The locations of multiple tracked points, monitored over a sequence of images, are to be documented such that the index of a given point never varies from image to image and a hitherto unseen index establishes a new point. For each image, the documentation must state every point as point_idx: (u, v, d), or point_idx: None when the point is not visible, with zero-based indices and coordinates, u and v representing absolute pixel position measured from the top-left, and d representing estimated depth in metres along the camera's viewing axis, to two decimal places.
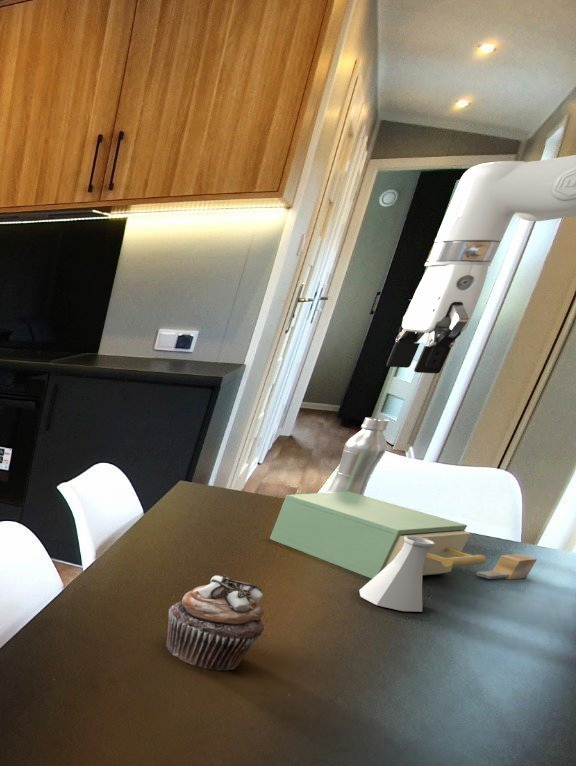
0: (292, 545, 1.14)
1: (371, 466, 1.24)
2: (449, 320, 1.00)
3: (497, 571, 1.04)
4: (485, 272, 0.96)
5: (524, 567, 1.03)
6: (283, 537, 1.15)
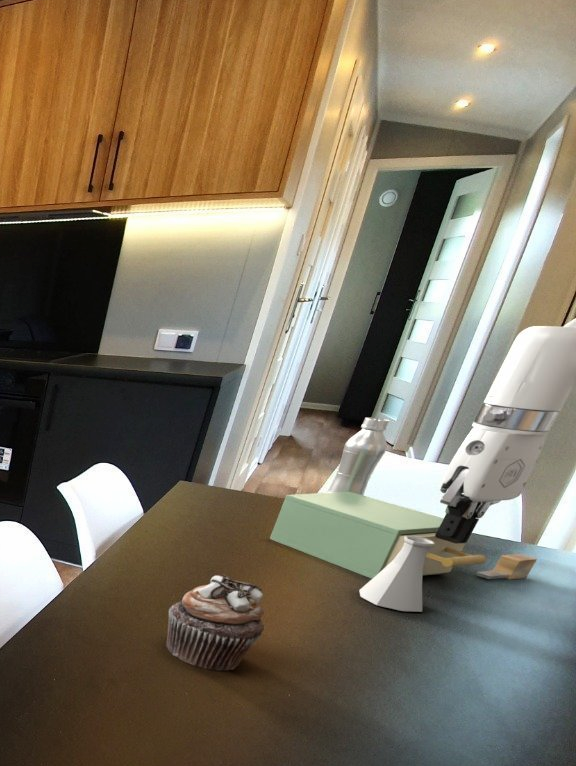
0: (292, 545, 1.14)
1: (371, 466, 1.24)
2: None
3: (497, 571, 1.04)
4: (500, 441, 0.88)
5: (524, 567, 1.03)
6: (283, 537, 1.15)
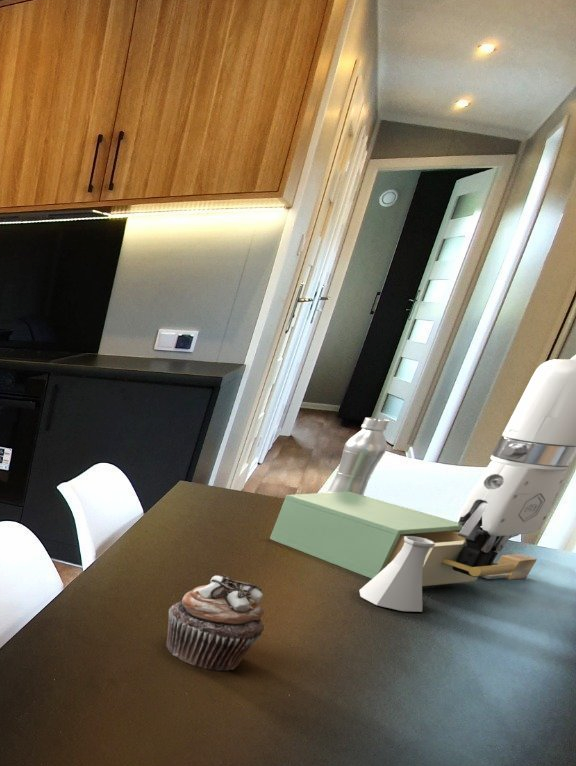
0: (292, 545, 1.14)
1: (371, 466, 1.24)
2: None
3: None
4: (519, 475, 0.86)
5: (524, 567, 1.03)
6: (283, 537, 1.15)
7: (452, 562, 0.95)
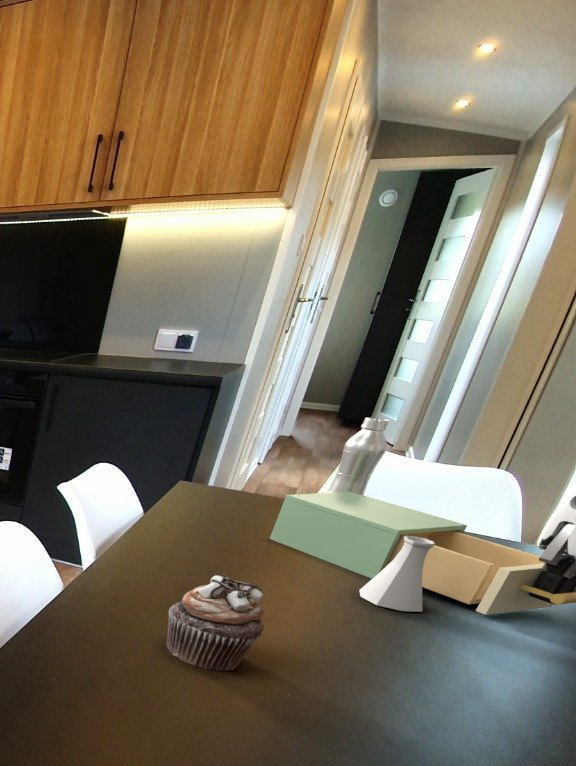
0: (292, 545, 1.14)
1: (371, 466, 1.24)
2: None
3: None
4: None
5: None
6: (283, 537, 1.15)
7: (530, 588, 0.87)
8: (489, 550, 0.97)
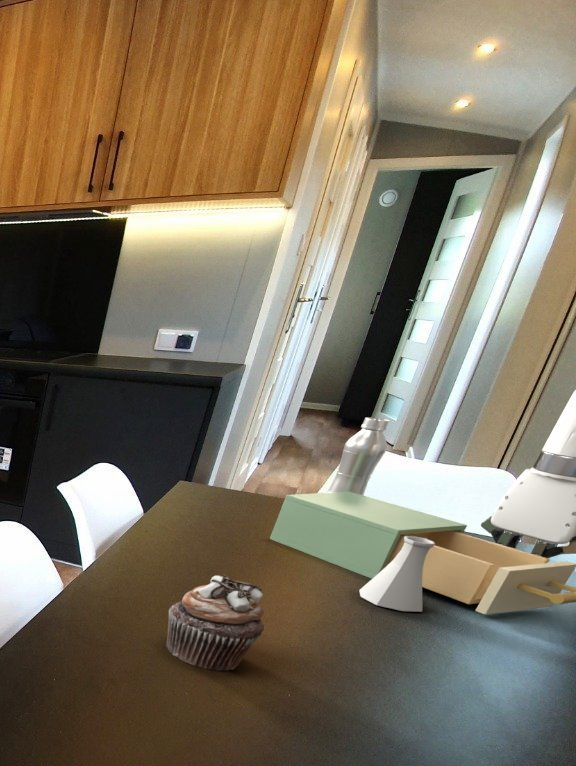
0: (292, 545, 1.14)
1: (371, 466, 1.24)
2: None
3: None
4: None
5: None
6: (283, 537, 1.15)
7: (529, 588, 0.87)
8: (488, 550, 0.97)
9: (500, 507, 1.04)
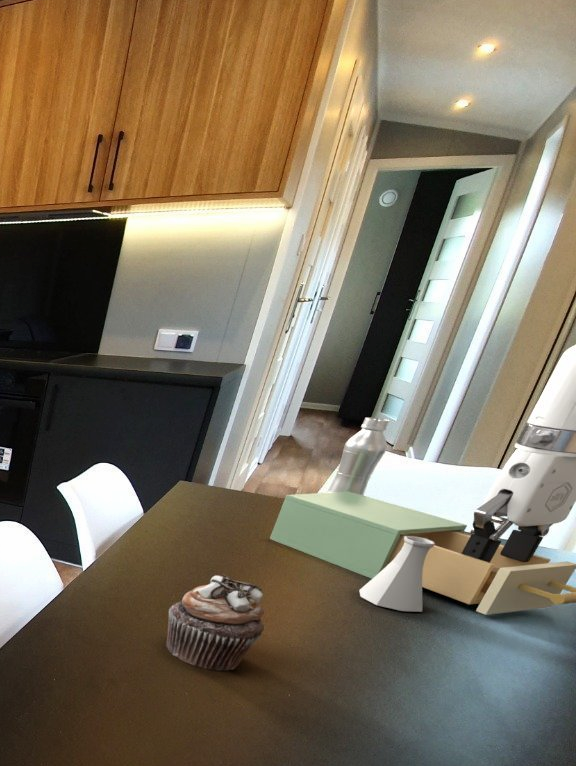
0: (292, 545, 1.14)
1: (371, 466, 1.24)
2: None
3: None
4: (546, 464, 0.84)
5: None
6: (283, 537, 1.15)
7: (530, 588, 0.87)
8: None
9: None
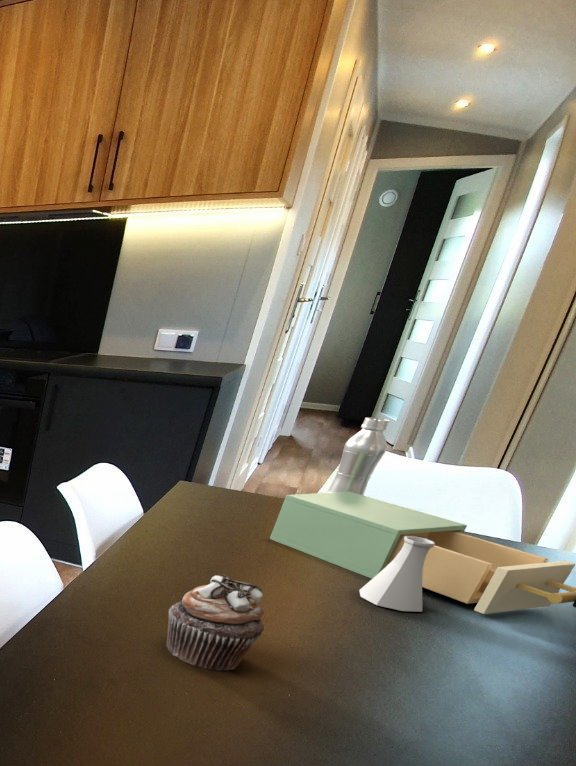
0: (292, 545, 1.14)
1: (371, 466, 1.24)
2: None
3: None
4: None
5: None
6: (283, 537, 1.15)
7: (528, 587, 0.87)
8: (487, 550, 0.98)
9: None
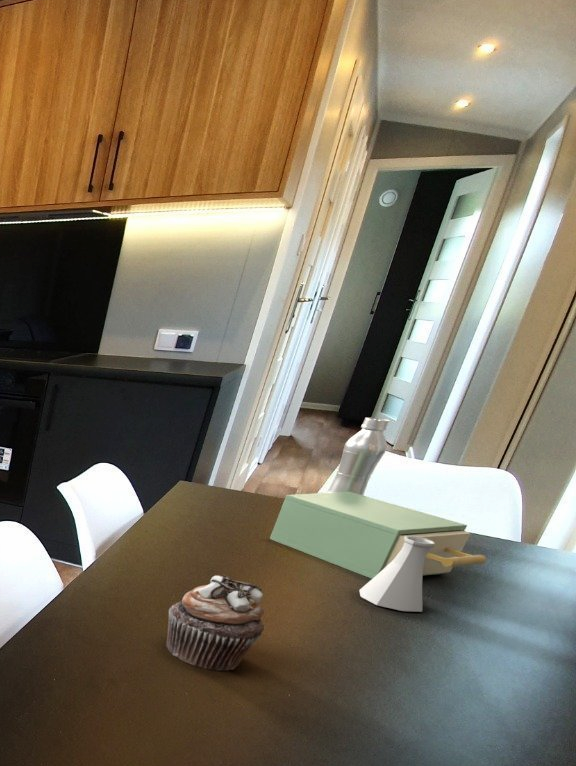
0: (292, 545, 1.14)
1: (371, 466, 1.24)
2: None
3: None
4: None
5: None
6: (283, 537, 1.15)
7: None
8: None
9: None
